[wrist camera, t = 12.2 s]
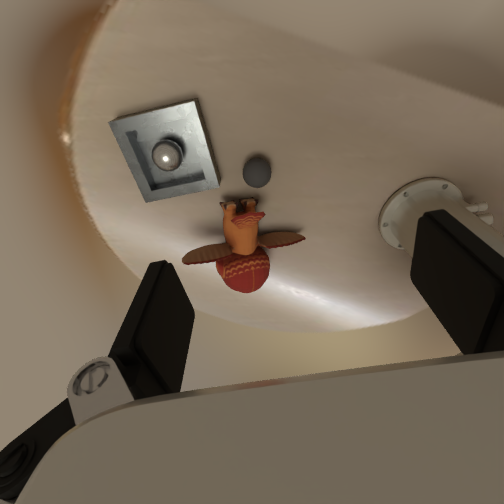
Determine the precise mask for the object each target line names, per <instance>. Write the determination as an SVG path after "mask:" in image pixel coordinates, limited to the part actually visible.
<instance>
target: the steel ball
mask: <svg viewBox="0 0 504 504" xmlns="http://www.w3.org/2000/svg"><path fill="white" fill-rule="evenodd" d="M151 155H152V160H153V162H154V164H155V165H156V166H157V167H158V168H159V169H161V170H163V171H174V170H176V169H178V168H179V167H180V165H181V164H182V161H183V153H182V150H181V148H180V147H179V145H178V144H177V143H175V142H173V141H171V140H161V141H159V142H157V143H156V144H155V145H154V147H153V149H152V154H151Z"/></svg>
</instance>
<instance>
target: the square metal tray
mask: <svg viewBox="0 0 504 504" xmlns="http://www.w3.org/2000/svg"><path fill="white" fill-rule="evenodd" d="M108 123H109V125H110V127H111V129H112V132H113V134H114V136H115V138H116V140H117V142H118V144H119V147H120V149H121V151H122V153H123V155H124V157H125V159H126V162H127V164H128V166H129V168H130V170H131V172H132V174H133V176H134V179H135V181H136V183H137V185H138V187H139V189H140V191H141V194H142V196H143V198H144V200H145V202H146V203H147V202H152V201H156V200H161V199H166V198H171V197H175V196H180V195H185V194H190V193H195V192H199V191H204V190H209V189H214V188H218V187H220V182H221V177H220V174H219V170H218V167H217V163H216V160H215V156H214V153H213V149H212V146H211V142H210V139H209V136H208V132H207V129H206V125H205V122H204V118H203V115H202V111H201V108H200V104H199V101H198V98H194V99H190V100H186V101H182V102H178V103H174V104H170V105H166V106H162V107H158V108H154V109H150V110H146V111H142V112H138V113H134V114H130V115H126V116H121V117H117V118H115V119H114V120H112V121H110V122H108ZM161 140H171V141H173V142H175V143H177V144H178V145H179V147H180V148H181V150H182V153H183V161H182V164H181V165H180V167H179V168H178V169H176V170H174V171H163V170H161V169H159V168H158V167H157V166H156V165H155V164H154V162H153V160H152V155H151V154H152V149H153V147H154V145H155V144H156V143H157V142H159V141H161Z"/></svg>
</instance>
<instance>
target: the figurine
mask: <svg viewBox="0 0 504 504" xmlns="http://www.w3.org/2000/svg"><path fill="white" fill-rule="evenodd" d="M239 201H240V203H241V204H242V206H243V211H241V212H236V209H237V207H238V203H235V202H234V200H232V201H230V202H220V205H221V207H222V208H223V211H224V218H223V229H224V235H225V239H226V243H222V244H212V245H207V246H203V247H200V248H197V249H195V250H192V251H190V252H188V253H187V254H186V255H185V256H184V257H183V258H182V262H183V263H184V264H186V265H190V264H198V263H199V264H202V263H209V262H215V261H216V268H217V271H218V273H219V275H221V277H222V279H223V280H224V282H225V283H226V285H227V286H228V287H230V288H231V289H233V290H236V291H239V292H242V293H251V292H253V291H256V290H258V289H259V288H261V286H262V285H263V284H264V282H265V281H266V280H267V278H268V276H269V269H270V262H269V257H268V255H267V254H266V252H265V251H264V250H263V249H262V248H261V247H260V246H263V247H266V248H269V249H270V248H277V247H283V246H288V245H292V244H294V243H298V242H300V241H302V240H305V237H304V236H302V235H300V234H296V233H293V232H273V233H267V234H264V235H261V236H258V237H257V233H258V221H259V220H260V219H261V218H263V217H264V216H265V213H264V212H257V213H256V212H255V206H256V205H257V203H258V200H255V199H253V197H252V198H250V199H239Z"/></svg>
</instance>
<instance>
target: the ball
mask: <svg viewBox="0 0 504 504" xmlns="http://www.w3.org/2000/svg"><path fill="white" fill-rule="evenodd" d="M243 178H244V180H245V182H246V183H247V184H248V185H249V186H251V187H254V188H260V187H263V186H265V185H266V184H267V183H268V182H269V180H270V178H271V168H270V166H269V164H268V163H267V162H266V161H265V160H263V159H260V158H254V159H251V160H249V161H248V162H247V163H246V164H245V166H244V168H243Z"/></svg>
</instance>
